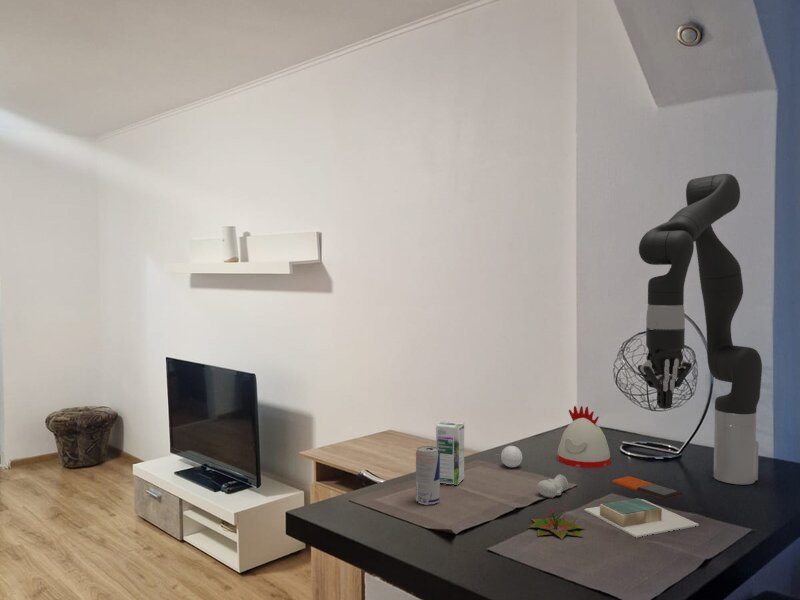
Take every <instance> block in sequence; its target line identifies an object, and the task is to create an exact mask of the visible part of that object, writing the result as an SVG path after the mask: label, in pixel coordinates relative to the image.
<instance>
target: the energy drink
mask: <svg viewBox="0 0 800 600" xmlns="http://www.w3.org/2000/svg"><path fill="white" fill-rule="evenodd" d="M440 487H441V484H440V452H439V448H437V447H436V446H433V445H431V446H430V445H423V446H419V447H417V448H416V450H415V502H417V501H418V502H421V503H428V504H430V503H437V502H438V503H439V502H440V499H441V498H440V497H441V494H440V493H441V488H440ZM438 503H437V504H438Z"/></svg>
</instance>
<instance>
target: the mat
mask: <svg viewBox="0 0 800 600" xmlns="http://www.w3.org/2000/svg"><path fill="white" fill-rule="evenodd" d="M641 500H643V501H645V502H648V503H650V504H652V505H654V506H656V507H659V508H661V509H662V520H660V521H655V522H649V523H643V524H638V525H632V526H626V527H621V526H619V525H617V524H615V523H613V522H611V521H609V520H608V519H606V518H604V517H602V516H600V505H599V506H594V507H593V506H592V507H588V508H584V509H583V510H584V512H586V513H588V514H590V515H592V516H593V517H595V518H598V519H599V520H601V521H602V522H603V521H604V522H605V523H607V524H609V525H610V526H613V527H615V528H617V529H619V530H620V531H622V532H624V533H626V534H628V535H630V536H632V537H633V538H635V537H636V539H637V538H642V536H643V537H647V535H648V536H652V534H654V535H657V534H664V533H669V532H668V531H670V532H674V531H673V530H675V531H680V530H685V529H690V528H695V526H696V527H699V526H700V524H699V523H698V522H695V521H693V520H691V519H688V518H686V517H684V516H681V515H679V514H677V513H675V512H673V511H670V510H668V509H666V508H663V507H661V506H659V505H657V504H654V503H652V502H650V501H648V500H645V499H641ZM679 529H680V530H679Z"/></svg>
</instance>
